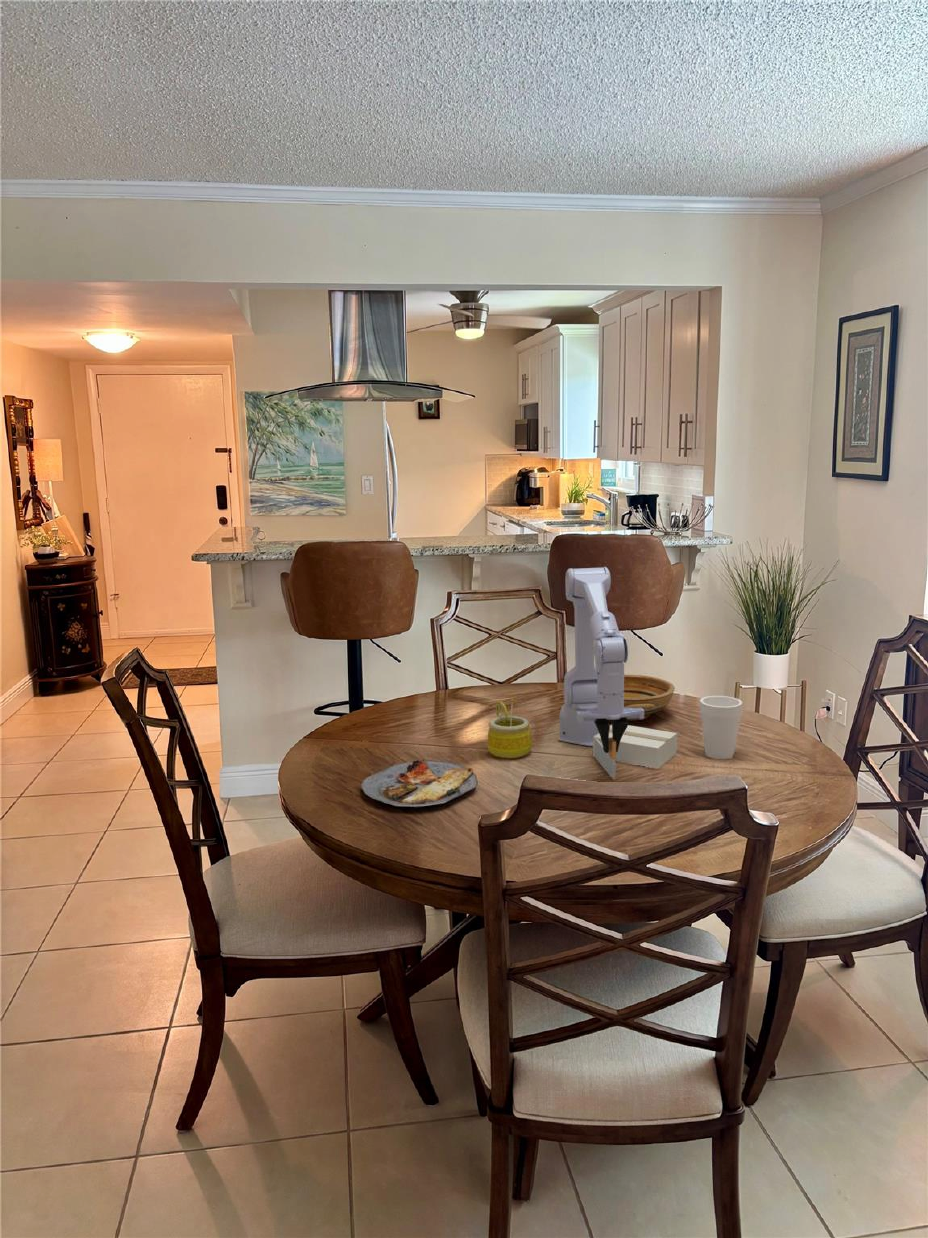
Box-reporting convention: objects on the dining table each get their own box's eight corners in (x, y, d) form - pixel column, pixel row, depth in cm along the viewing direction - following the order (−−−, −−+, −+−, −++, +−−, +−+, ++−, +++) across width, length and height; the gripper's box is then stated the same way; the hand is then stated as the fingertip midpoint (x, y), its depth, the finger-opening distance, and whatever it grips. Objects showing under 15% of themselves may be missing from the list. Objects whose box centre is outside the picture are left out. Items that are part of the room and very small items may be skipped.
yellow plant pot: (529, 762, 207) (529, 713, 205) (483, 760, 209) (482, 711, 207) (536, 743, 219) (535, 697, 217) (492, 742, 221) (491, 696, 219)
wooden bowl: (574, 700, 254) (574, 673, 253) (657, 696, 256) (657, 670, 254) (596, 733, 225) (596, 703, 224) (689, 729, 227) (690, 699, 225)
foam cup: (740, 749, 211) (741, 697, 209) (741, 763, 202) (743, 708, 200) (698, 746, 214) (700, 695, 211) (698, 760, 205) (699, 706, 202)
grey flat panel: (594, 757, 207) (594, 722, 206) (597, 757, 207) (597, 722, 206) (612, 779, 194) (612, 742, 192) (615, 779, 194) (616, 741, 192)
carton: (593, 757, 209) (593, 736, 208) (614, 742, 218) (614, 722, 217) (657, 769, 200) (657, 747, 199) (676, 753, 210) (676, 732, 209)
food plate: (419, 761, 209) (419, 747, 208) (498, 783, 195) (497, 768, 194) (342, 798, 190) (340, 782, 190) (422, 826, 176) (421, 809, 175)
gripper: (581, 698, 187) (582, 759, 189) (648, 694, 188) (648, 755, 191) (574, 689, 194) (574, 748, 196) (639, 685, 195) (638, 744, 198)
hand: (610, 751), depth 194 cm, fingers closed
